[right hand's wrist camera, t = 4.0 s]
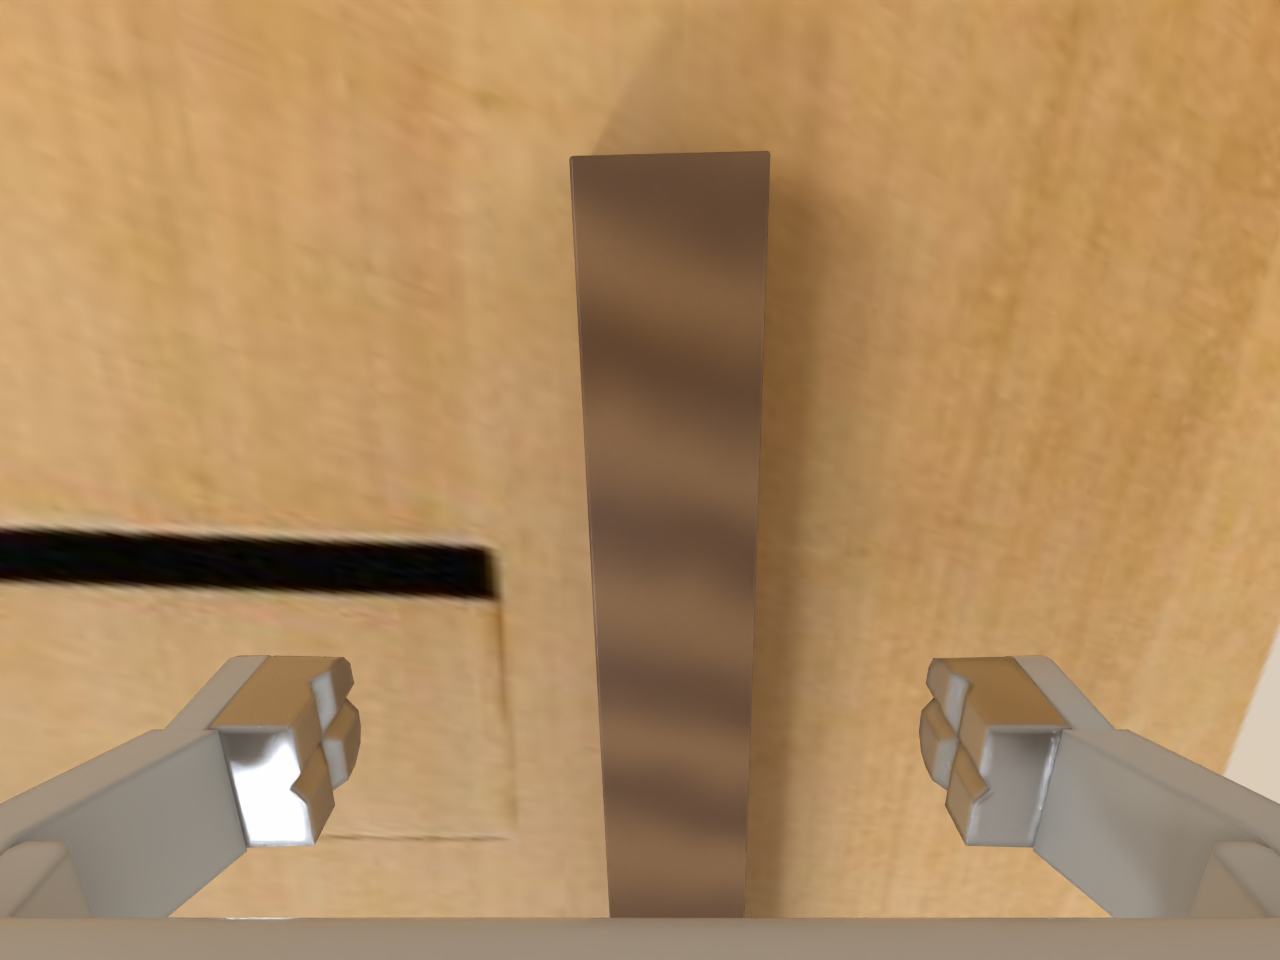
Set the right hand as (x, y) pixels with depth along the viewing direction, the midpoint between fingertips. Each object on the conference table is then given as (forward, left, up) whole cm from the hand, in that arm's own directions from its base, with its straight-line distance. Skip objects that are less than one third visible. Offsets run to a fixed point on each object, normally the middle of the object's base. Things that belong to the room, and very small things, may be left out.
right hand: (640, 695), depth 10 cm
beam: (+28, -11, -18) cm, 35 cm away
